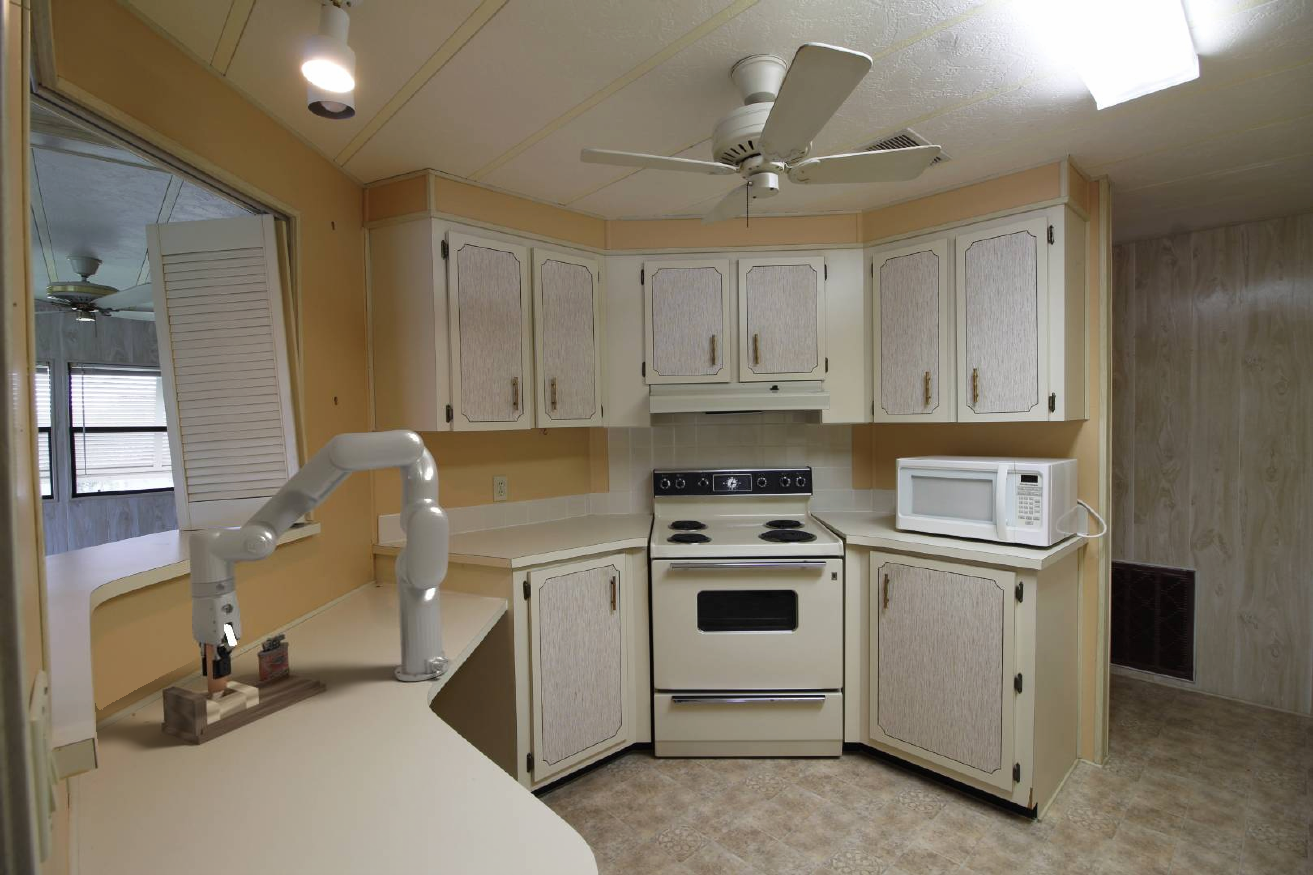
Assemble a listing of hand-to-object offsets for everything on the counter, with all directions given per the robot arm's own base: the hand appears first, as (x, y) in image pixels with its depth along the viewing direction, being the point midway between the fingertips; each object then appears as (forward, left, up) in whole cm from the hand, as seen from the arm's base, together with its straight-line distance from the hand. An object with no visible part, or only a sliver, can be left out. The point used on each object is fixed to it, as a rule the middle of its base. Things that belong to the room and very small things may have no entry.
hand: (216, 674), depth 125 cm
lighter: (+12, -18, -10) cm, 24 cm away
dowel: (0, 0, -3) cm, 3 cm away
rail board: (0, -6, -10) cm, 12 cm away
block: (0, 0, -8) cm, 8 cm away
